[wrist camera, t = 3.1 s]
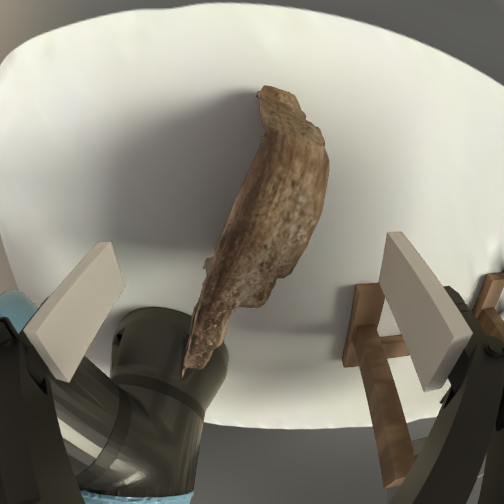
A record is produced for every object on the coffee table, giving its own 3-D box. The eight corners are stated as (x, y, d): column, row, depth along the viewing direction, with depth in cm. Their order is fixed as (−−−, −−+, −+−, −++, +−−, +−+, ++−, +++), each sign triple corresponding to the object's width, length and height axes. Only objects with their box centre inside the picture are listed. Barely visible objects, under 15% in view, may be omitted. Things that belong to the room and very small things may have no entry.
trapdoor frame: (341, 358, 35) (364, 500, 18) (356, 284, 29) (411, 462, 12) (472, 338, 33) (521, 440, 17) (501, 272, 28) (579, 379, 11)
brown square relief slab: (263, 84, 21) (259, 59, 7) (311, 101, 21) (379, 109, 8) (205, 256, 29) (163, 387, 16) (245, 269, 29) (229, 404, 16)
